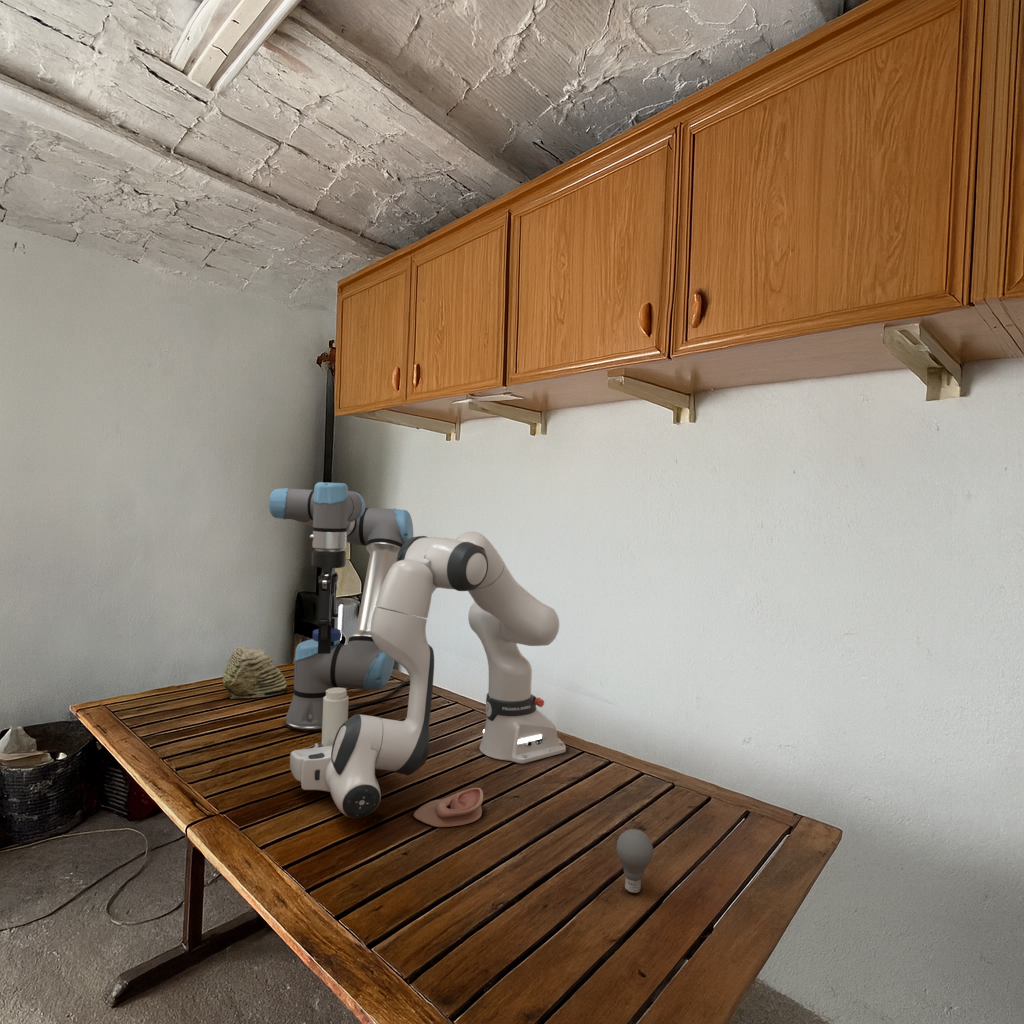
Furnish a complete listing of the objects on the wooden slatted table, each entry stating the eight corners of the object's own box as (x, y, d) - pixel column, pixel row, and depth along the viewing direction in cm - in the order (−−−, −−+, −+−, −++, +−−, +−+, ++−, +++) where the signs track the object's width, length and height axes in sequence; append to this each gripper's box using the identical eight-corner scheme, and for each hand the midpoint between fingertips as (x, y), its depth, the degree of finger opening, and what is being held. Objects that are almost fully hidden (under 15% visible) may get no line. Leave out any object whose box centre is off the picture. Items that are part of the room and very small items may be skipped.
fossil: (218, 695, 195) (220, 647, 195) (278, 685, 208) (279, 640, 207) (228, 703, 189) (230, 653, 188) (289, 692, 201) (290, 645, 201)
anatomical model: (408, 802, 124) (427, 778, 135) (407, 822, 124) (427, 796, 136) (473, 812, 122) (488, 786, 133) (473, 832, 122) (487, 805, 133)
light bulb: (610, 879, 108) (613, 822, 108) (644, 879, 109) (647, 822, 109) (619, 902, 102) (622, 840, 102) (655, 901, 103) (658, 840, 103)
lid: (315, 643, 142) (316, 635, 142) (309, 637, 147) (310, 629, 147) (343, 640, 145) (343, 632, 145) (336, 634, 150) (336, 627, 150)
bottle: (347, 769, 147) (350, 686, 147) (343, 780, 142) (347, 694, 142) (322, 770, 147) (325, 686, 146) (318, 780, 141) (321, 694, 141)
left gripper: (318, 545, 154) (315, 639, 155) (305, 553, 135) (302, 660, 136) (349, 546, 155) (346, 639, 156) (341, 554, 137) (338, 660, 137)
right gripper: (394, 747, 137) (378, 725, 149) (295, 760, 128) (287, 736, 140) (393, 776, 137) (377, 752, 150) (294, 791, 128) (286, 764, 141)
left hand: (326, 649), depth 146 cm, fingers closed on lid, 6 cm apart
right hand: (333, 744), depth 145 cm, fingers closed on bottle, 5 cm apart
